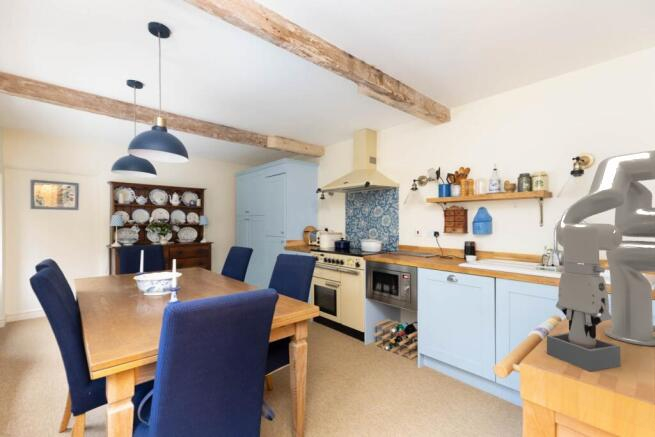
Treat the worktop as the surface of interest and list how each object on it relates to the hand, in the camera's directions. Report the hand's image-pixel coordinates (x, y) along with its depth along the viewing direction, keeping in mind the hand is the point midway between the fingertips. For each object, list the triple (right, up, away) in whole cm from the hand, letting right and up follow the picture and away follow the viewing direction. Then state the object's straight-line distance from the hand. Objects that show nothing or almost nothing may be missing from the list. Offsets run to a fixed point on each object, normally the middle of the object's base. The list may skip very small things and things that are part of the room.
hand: (582, 336), depth 82 cm
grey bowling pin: (0, -3, 0) cm, 3 cm away
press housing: (0, -6, 0) cm, 6 cm away
